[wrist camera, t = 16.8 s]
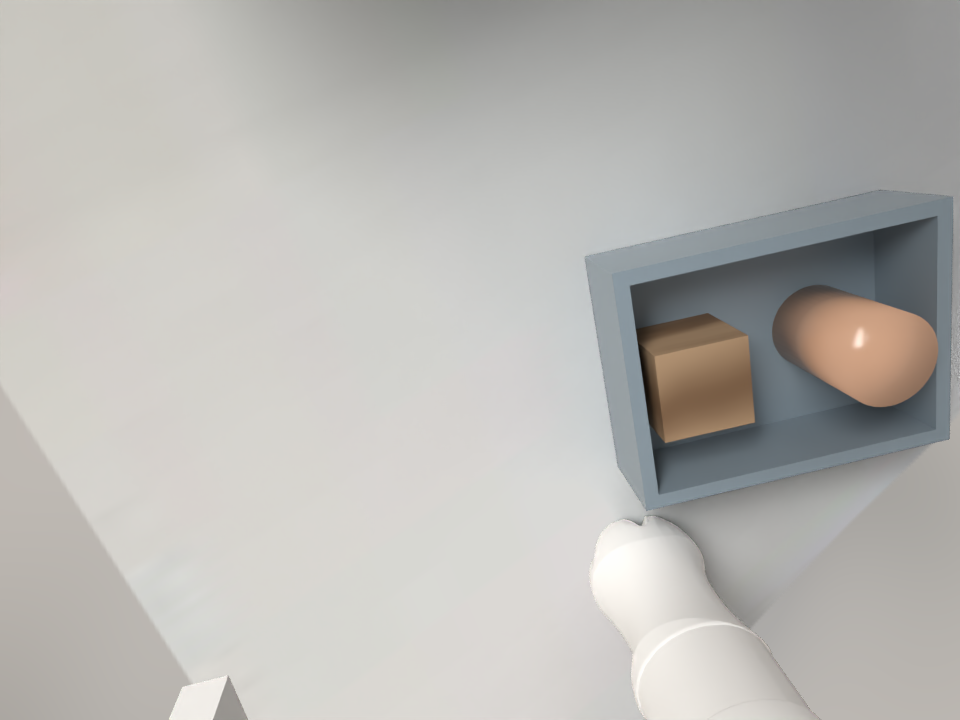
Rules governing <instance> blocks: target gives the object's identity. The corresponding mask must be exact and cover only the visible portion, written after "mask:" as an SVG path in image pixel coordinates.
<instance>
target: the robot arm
mask: <svg viewBox="0 0 960 720" xmlns="http://www.w3.org/2000/svg"><path fill="white" fill-rule="evenodd" d="M169 720H248V718H247V716H246V714H245V712H244V709H243V707H242V705H241V703H240V700H239V698H238V696H237V694H236V691H235V689H234V687H233V685H232V682H231V680H230V678H229V676H228V675H227V676H223V677H219V678H215V679H211V680H207V681H203V682H200V683H196V684H192V685H188V686H184V687H182V690H181V692H180V695H179V697H178V699H177V701H176V704H175V706H174V709H173V711H172V713H171V716H170V718H169Z"/></svg>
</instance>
